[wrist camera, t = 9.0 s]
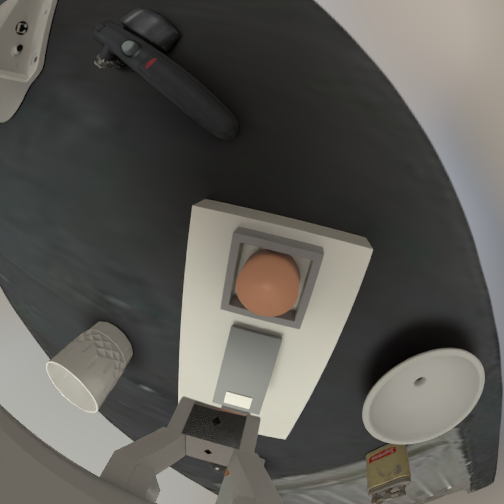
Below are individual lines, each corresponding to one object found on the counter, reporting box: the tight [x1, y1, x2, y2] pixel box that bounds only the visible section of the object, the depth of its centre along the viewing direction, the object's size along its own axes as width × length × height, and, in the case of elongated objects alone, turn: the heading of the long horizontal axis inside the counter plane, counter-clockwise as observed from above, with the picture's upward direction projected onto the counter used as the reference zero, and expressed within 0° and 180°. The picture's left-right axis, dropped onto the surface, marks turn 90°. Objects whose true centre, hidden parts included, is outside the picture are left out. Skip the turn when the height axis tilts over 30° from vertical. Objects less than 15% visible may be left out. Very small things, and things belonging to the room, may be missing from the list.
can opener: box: [92, 7, 239, 141], centre depth 18 cm, size 18×7×6 cm, turn 41°
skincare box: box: [216, 458, 265, 504], centre depth 32 cm, size 6×4×12 cm
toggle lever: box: [210, 462, 227, 472], centre depth 25 cm, size 2×2×7 cm
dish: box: [362, 348, 485, 445], centre depth 24 cm, size 18×14×5 cm
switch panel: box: [178, 199, 373, 439], centre depth 26 cm, size 26×14×5 cm, turn 169°
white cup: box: [46, 321, 133, 413], centre depth 28 cm, size 8×8×10 cm
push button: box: [236, 249, 300, 317], centre depth 21 cm, size 4×4×2 cm
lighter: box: [366, 443, 411, 504], centre depth 27 cm, size 7×4×10 cm, turn 137°
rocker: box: [212, 325, 282, 415], centre depth 23 cm, size 8×4×1 cm, turn 169°
